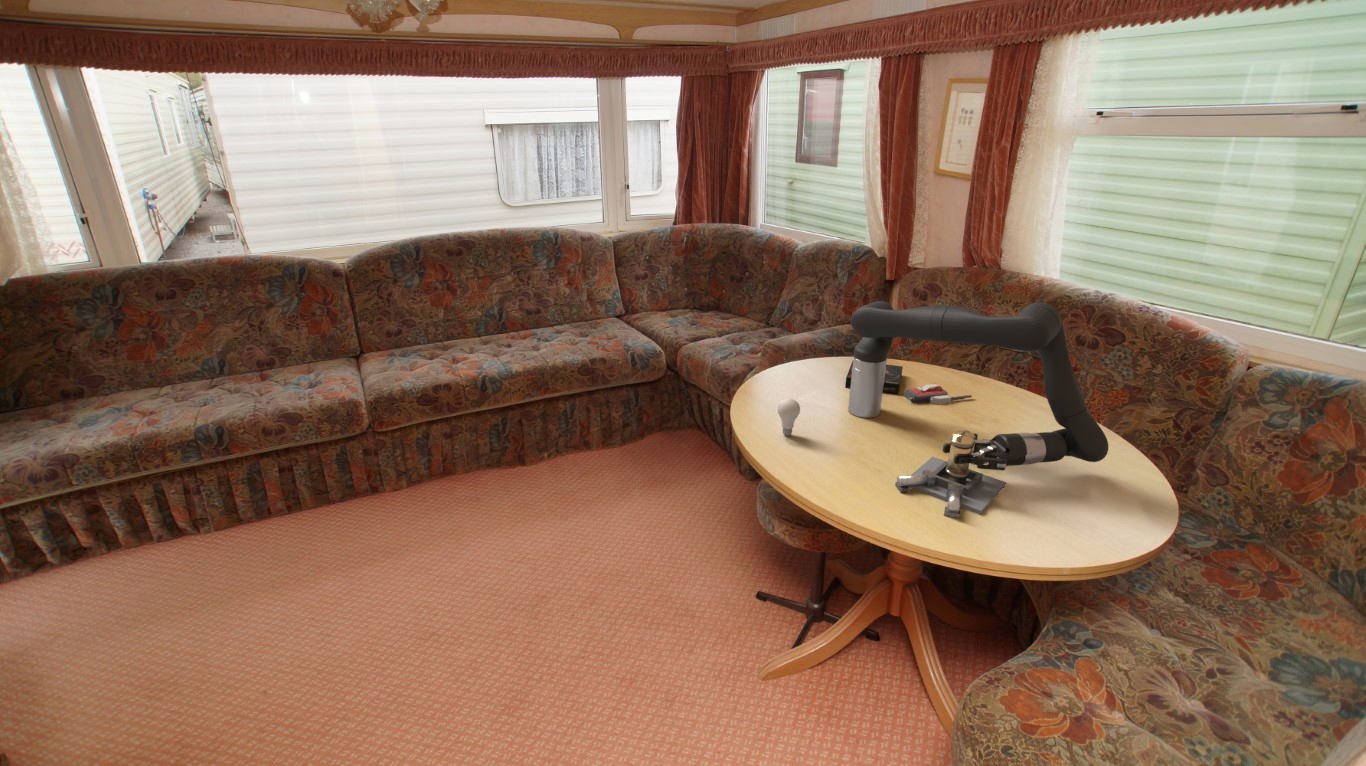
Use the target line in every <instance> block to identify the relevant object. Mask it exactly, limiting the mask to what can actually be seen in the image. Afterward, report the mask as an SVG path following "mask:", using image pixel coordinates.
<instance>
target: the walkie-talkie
mask: <svg viewBox="0 0 1366 766" xmlns="http://www.w3.org/2000/svg"><path fill="white" fill-rule="evenodd" d="M948 394H949V392H948V391H946V390H945V389H943V387H942V386H940V385H939V384H938V383H932V384H931V383H930V384H925V385H923V386H916V387H913V388H912V387H911V388H905V391H904V397H905V398H906V399H907V400H908V401H910V403H913V404H916V405H918V404H927V403H930V404H933V405H934V404H935V405H943V404H944V405H945V404H951V402H952V401H957V400H964V399H967V398H972V394H967V395H959V396H950V395H948Z"/></svg>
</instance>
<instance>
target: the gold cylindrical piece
mask: <svg viewBox="0 0 1366 766" xmlns="http://www.w3.org/2000/svg"><path fill="white" fill-rule="evenodd" d="M974 437H975V435H974V434H973V432H972V431H970V430H968V429H967V430H966V429H955V430H954V431H953V432H952V435H951V437H950V442H949V443H951V447H950V452H949V453H948V460H947V462H948V464H947V466H946V470H945V473H946V475H945V478H946V479H948V480H951V481H954V482H956V483H959V484H964V483H965V482H966V479H967V477H968V473H969V470H968V469H969V467H970V463H968V464H955V463H954V462H953V460H954V456H955V455H956V454H968V453H970V454H971V452H972V451H973V449H974V442H975V441H974Z"/></svg>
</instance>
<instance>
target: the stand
mask: <svg viewBox="0 0 1366 766" xmlns="http://www.w3.org/2000/svg"><path fill="white" fill-rule="evenodd" d="M947 464H948V460H945V459H944V460H943V459H941V458H939V457H935V456H931V457H930V458H929V459H927V460H926V461H925V462H924V463H923V464H922V465H921V466H919V468H917V469H916V470H915V471H914V472H913V473H912V474H911V475H922V474H923V470H930V471H931V472H932V473H933V474H934V476H935V477H936V479H935V485H934V487H927V486H926V485H913V486H908V487H909V488H912V489H913V490H916V491H919V492H921V493H923V494H927V495H930V496H931V497H934V498H937V499H939V500H941V501H944V502H947V503H948V497H946V493H947V488H948V483H951V484H956V485H961V486H963V493H962V499H961V500H960V507H959V508H962V509H964V510H967V511H970V512H972V513H975V514H978V515H980V516H981V514H983V512H984V511H985V510H986V509H987V508H988V507H989V506H990V504H992V502H993V501H994V500H995V499H996V498H997V497H998V495H999V494H1000V493H1001V492H1002V491H1003V490H1004V489H1005V488H1006V486H1007V481H1004V480H1001V479H999V478H995V477H993V476H990V475H987V474H984V473H981V472H979V471H976V470H973V469H969V468H968V470H969V473H968V477H967V479H966V482H965V483H964V484H959V483H956V482H954V481H951V480H948V479H946V478H945V475H946V473H945V470H946V466H947ZM1005 485H1006V486H1005ZM1003 488H1004V489H1003ZM1002 489H1003V490H1002ZM1001 490H1002V491H1001ZM1000 491H1001V492H1000ZM999 492H1000V493H999ZM995 497H996V498H995ZM994 498H995V499H994ZM993 499H994V500H993ZM988 505H989V506H988Z"/></svg>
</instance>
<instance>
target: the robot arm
mask: <svg viewBox="0 0 1366 766" xmlns="http://www.w3.org/2000/svg"><path fill="white" fill-rule="evenodd" d="M850 325H851V328H852V329H853V332H855V333H856V334H857V335H859V336H860V337H861V339H860V340H859V341H858V343H857V344H856V345H855V347H854V349H853V350H854V351H853V360H852V361H853V368H852V377H851V387H850V388H849V397H848V398H849V399H848V404H847V405H848V406H847V411H848V412H849V413H850V414H851V415H854V416H856V417H859V418H860V417H861V418H864V419H865V418H867V419H869V418H876V417H878V416H879V415H880V414H881V409H882V400H883V394H884V393H883V386H884V378H885V370H886V364H887V361H888V354H889V353H890V350H891V349H892V344H893V339H894V338H901V339H902V338H904V339H910V340H921V341H931V342H939V343H958V344H959V343H961V344H971V345H984V346H985V345H986V346H992V347H998V348H999V347H1000V348H1003V349H1009V350H1016V351H1021V352H1036V351H1037V352H1038V355H1039V357H1040V361H1041V366H1042V374H1043V384H1044V392H1045V396H1046V399H1047V402H1048V405H1049V408H1050V410H1051V412H1052V415H1053V417H1054V419H1055V422H1056V423H1057V424H1058V425H1059V426H1061V427H1063V428H1061V429H1058V430H1053V431H1051V432H1050V431H1046V432H1043V431H1042V432H1015V433H1013V432H1011V433H1001V434H1000V433H999V434H996V435H995V436H994V437H992V438H991V439H986V438H982V439H981V438H979V435H978V433H976V432H975V433H973V432H972V433H973V434H974V435H975V437H974V441H975V442H974V447H973V450H972V452H971V454H970V453H968V454H956V455H955V456H954V460H953V462H954V463H955V464H968V463H969V465H972V466H976V468H977V469H978V470H989V471H990V470H992V471H994V470H995V471H1005V470H1006V467H1014V466H1029V465H1033V464H1039V463H1051V462H1057V461H1061V460H1063V458H1065V457H1073V458H1075V459H1079V460H1082V461H1086V462H1089V463H1097V462H1100V461H1103V460H1104V459H1105V458H1106V456H1107V455H1108V452H1109V441H1108V438H1107V436H1106V434H1105V432H1104V431H1103V429H1102V428H1101V427H1100V425H1099V424H1098V422H1097V421H1096V419H1095V418H1094V417H1093V415H1091V413H1090V411H1089V409H1088V406H1087V405H1086V402H1085V399H1084V397H1083V394H1082V391H1081V389H1080V386H1079V384H1078V381H1077V379H1076V376H1075V375H1076V374H1075V373H1074V368H1073V366H1072V361H1071V357H1070V354H1069V349H1068V344H1067V340H1066V335H1065V329H1064V324H1063V320H1062V316H1061V314H1060V312H1059V310H1057V308H1055V306H1053V305H1051V304H1049V303H1046V302H1044V301H1043V302H1040V301H1036V302H1032V303H1030V304H1028V305H1027V306H1025V307H1024V308H1023V309H1022V310H1021V311H1020V312H1018V313H1017V315H1011V316H989V315H984V314H980V313H978V312H976V311H973V310H971V309H969V308H966V307H964V306H959V305H940V304H939V305H928V306H927V305H926V306H918V307H917V306H916V307H911V308H905V309H897V310H896V309H894V308H893V306H892V305H891V304H890V303H889V302H887V301H883V300H877V301H874V302H870V303H867V304H865V305H862V306H860V307H859V308H857V309H856V310H855V311H854V312H853V314H852V316H851V317H850ZM942 445H943V446H942V452H943V453H944V454H949V452H950V447H951V443H950V442H949V443H947V442H946V443H944V444H942Z"/></svg>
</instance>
